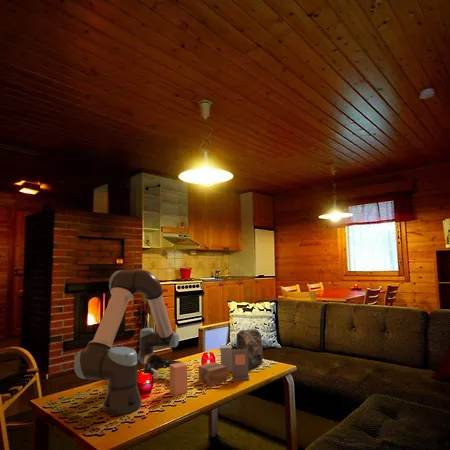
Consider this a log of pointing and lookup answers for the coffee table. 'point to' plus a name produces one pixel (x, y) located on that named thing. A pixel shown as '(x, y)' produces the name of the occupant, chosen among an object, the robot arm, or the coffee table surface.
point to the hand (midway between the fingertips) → (170, 371)
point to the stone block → (251, 345)
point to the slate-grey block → (226, 356)
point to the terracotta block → (178, 378)
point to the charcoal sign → (240, 365)
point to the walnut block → (212, 373)
